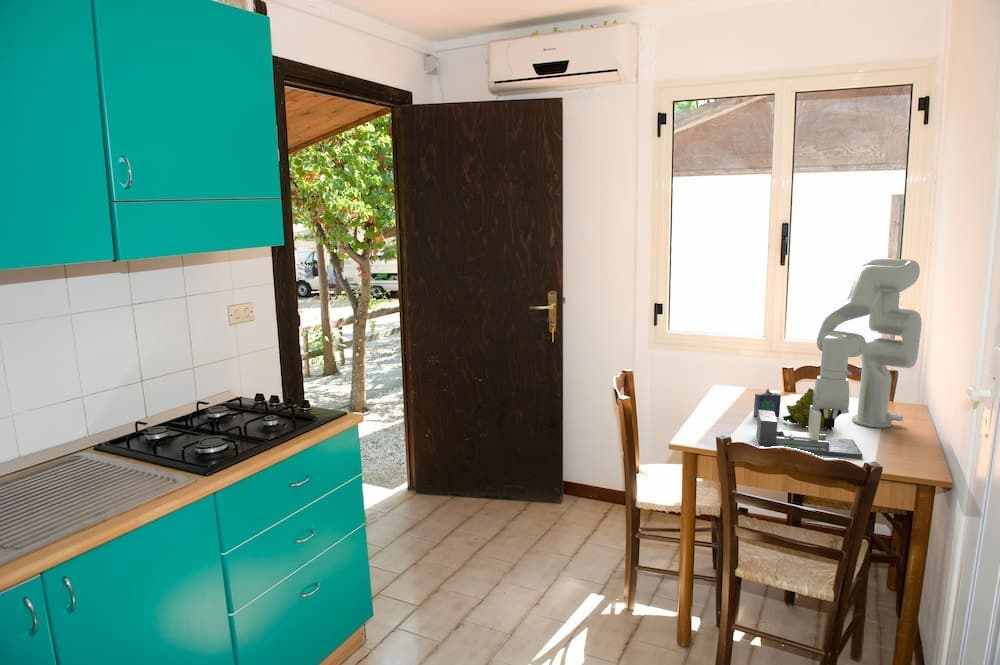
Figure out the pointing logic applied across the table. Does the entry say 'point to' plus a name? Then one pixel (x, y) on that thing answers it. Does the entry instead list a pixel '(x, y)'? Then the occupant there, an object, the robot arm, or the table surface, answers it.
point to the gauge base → (823, 446)
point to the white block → (812, 427)
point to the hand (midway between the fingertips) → (828, 429)
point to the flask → (767, 402)
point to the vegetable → (803, 410)
